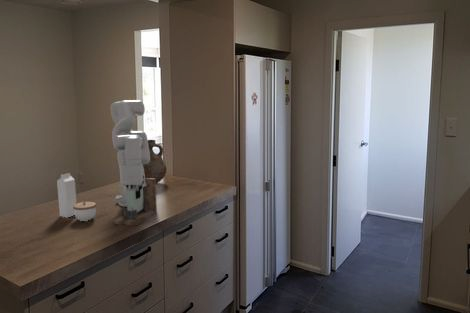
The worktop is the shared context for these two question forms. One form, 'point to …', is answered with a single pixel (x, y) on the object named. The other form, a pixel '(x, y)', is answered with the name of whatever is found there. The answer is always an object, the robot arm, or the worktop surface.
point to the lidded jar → (84, 210)
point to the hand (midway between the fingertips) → (135, 197)
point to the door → (134, 200)
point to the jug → (155, 163)
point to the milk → (66, 195)
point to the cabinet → (149, 206)
